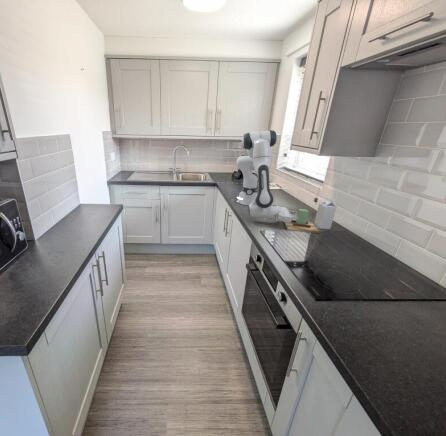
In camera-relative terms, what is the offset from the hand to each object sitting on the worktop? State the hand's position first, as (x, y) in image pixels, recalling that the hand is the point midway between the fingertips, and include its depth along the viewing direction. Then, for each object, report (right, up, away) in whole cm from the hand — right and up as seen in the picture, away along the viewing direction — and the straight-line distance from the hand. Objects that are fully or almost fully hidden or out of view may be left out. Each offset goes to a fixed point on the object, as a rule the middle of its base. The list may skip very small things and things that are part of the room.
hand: (296, 215), depth 147 cm
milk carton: (+17, -8, +2) cm, 19 cm away
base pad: (+3, -7, +2) cm, 8 cm away
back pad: (+3, -6, +1) cm, 7 cm away
